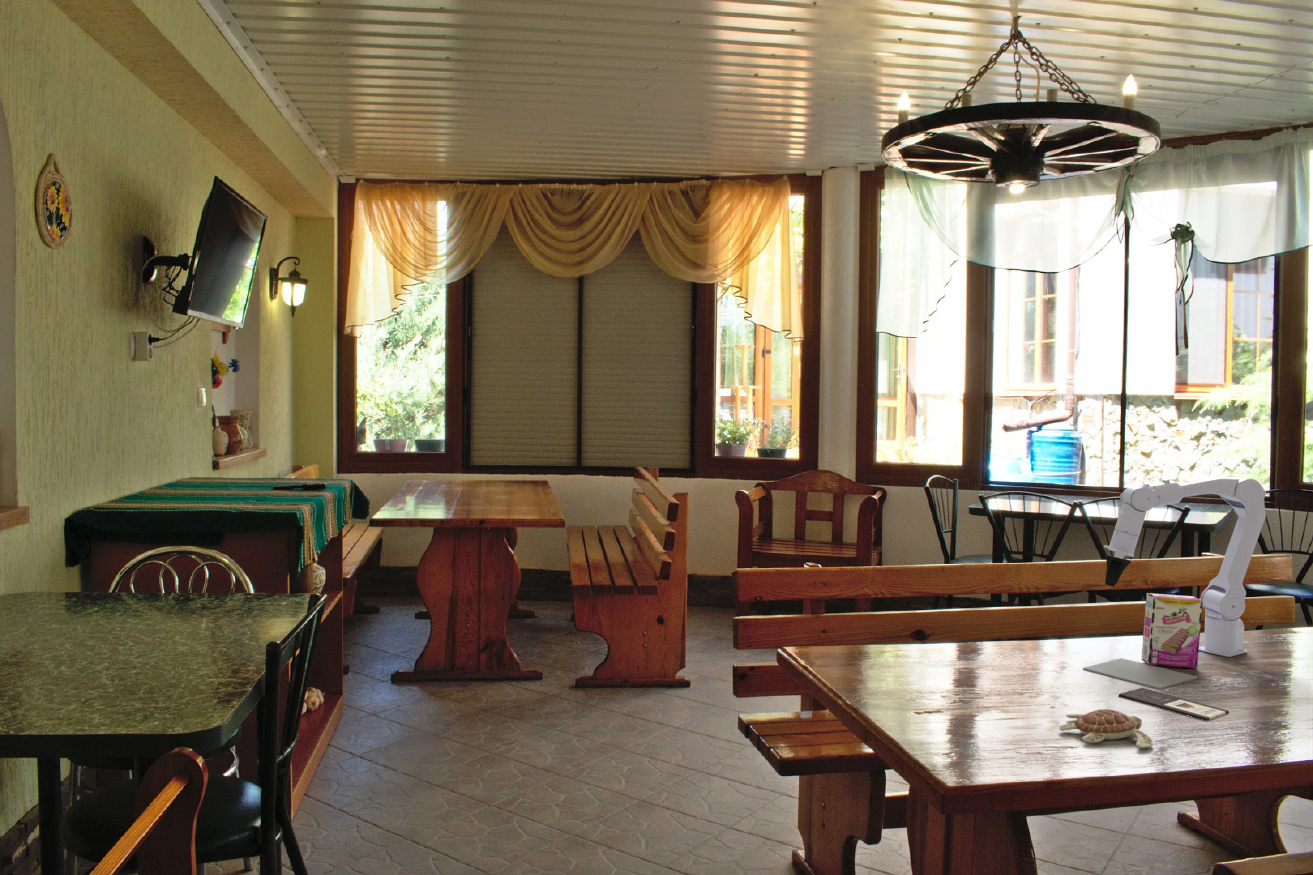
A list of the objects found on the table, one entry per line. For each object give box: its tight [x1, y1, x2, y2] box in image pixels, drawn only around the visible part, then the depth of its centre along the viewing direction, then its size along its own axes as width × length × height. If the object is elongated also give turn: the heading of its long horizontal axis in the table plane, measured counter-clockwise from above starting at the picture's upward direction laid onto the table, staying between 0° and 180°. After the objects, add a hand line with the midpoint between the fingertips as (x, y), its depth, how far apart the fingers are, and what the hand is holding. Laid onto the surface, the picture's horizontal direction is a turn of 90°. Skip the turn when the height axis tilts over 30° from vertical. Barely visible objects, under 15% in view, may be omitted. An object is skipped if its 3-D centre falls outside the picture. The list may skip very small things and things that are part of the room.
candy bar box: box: [1141, 592, 1203, 669], centre depth 230 cm, size 11×5×16 cm, turn 84°
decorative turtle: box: [1058, 708, 1154, 749], centre depth 182 cm, size 18×17×5 cm
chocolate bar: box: [1118, 687, 1230, 721], centre depth 201 cm, size 9×1×18 cm
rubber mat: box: [1082, 657, 1198, 690], centre depth 223 cm, size 16×18×1 cm
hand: (1110, 584), depth 244 cm, fingers open, 7 cm apart
